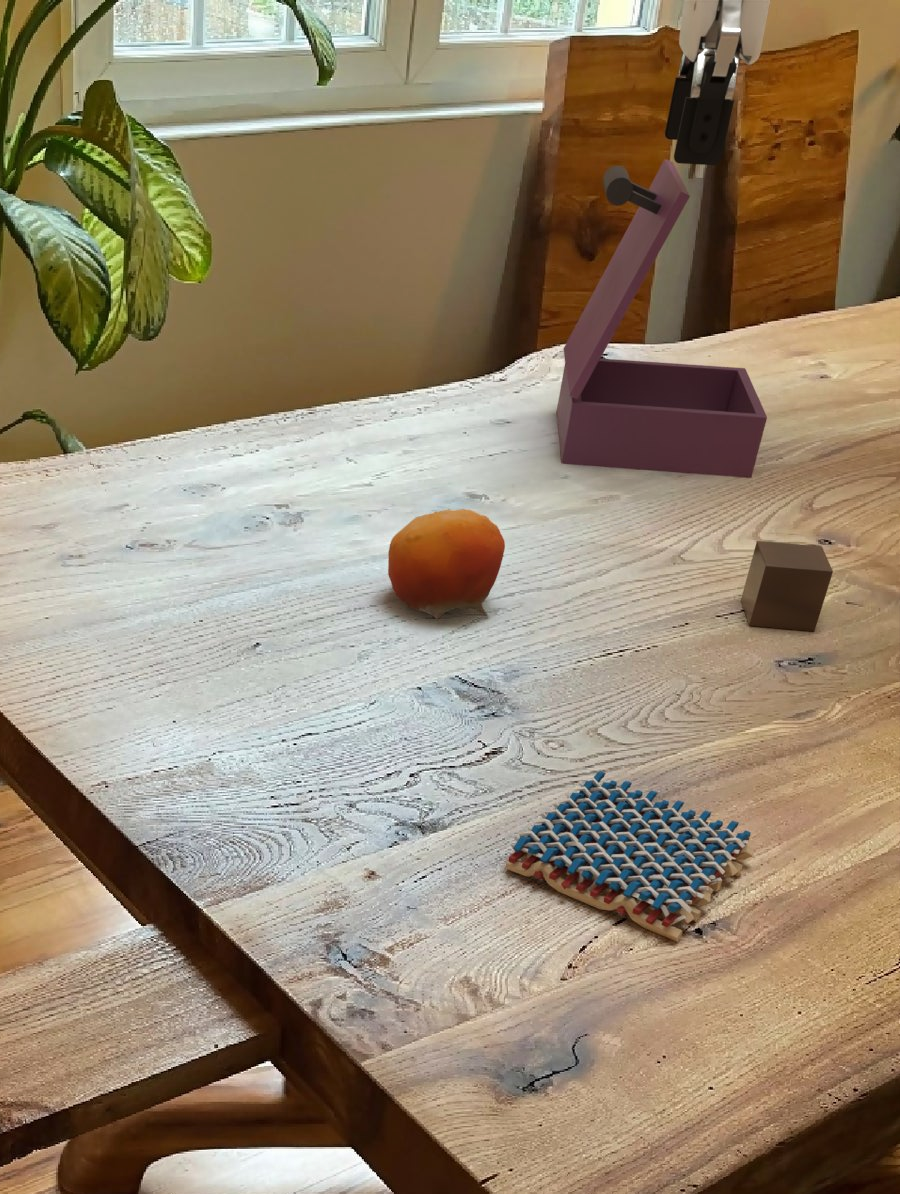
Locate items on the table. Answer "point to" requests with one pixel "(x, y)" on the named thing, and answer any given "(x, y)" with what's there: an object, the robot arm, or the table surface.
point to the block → (786, 586)
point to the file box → (662, 419)
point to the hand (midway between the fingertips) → (690, 151)
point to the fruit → (445, 561)
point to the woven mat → (630, 854)
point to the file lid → (624, 265)
